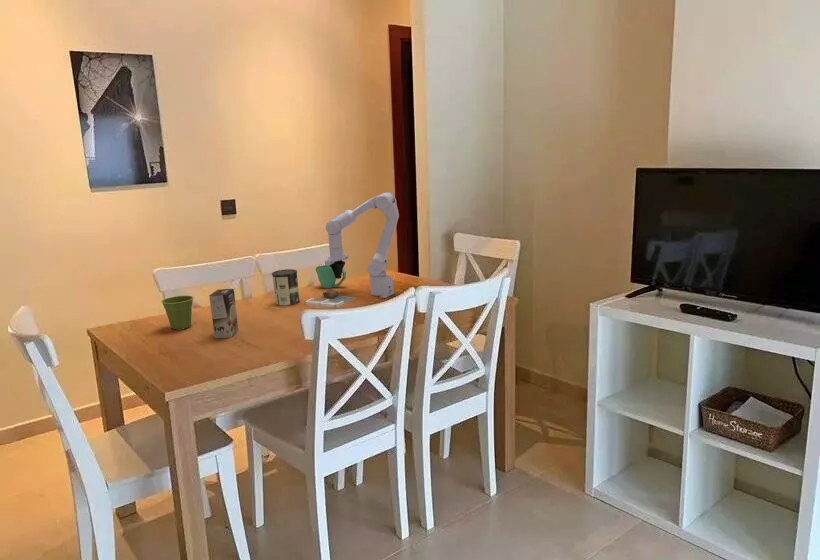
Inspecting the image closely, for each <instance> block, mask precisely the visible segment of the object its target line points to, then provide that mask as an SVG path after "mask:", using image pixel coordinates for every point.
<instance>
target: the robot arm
mask: <svg viewBox="0 0 820 560" xmlns="http://www.w3.org/2000/svg"><path fill="white" fill-rule="evenodd" d="M397 204H398V203H397V199H396V197H395V196H394V195H393V194H392V193H391V192H389V191H386V192H383V193H381V194H378V195H376V196H374V197H372V198H369V199H368V200H366V201H364V203H362V204H360V205H359V206H358V207H356V208H354V209H352V210H350V209H347V210H346V209H344V210H343V211H342V213H340V214H339V215H337V216H334V217H333V219H331V220H329V221H328V222H326V224H325V230H326V233H327V234H328V235H327V237H328V239H327V240H328V249H329V257H327V259H326V260H324V265H328V266H329V265H330V267H331V268H332V270H333V272H334V275H335V278H336V280H337V279H342V277H343V273H342V270H343V269H344V267H345V264H346V261H345V260H349V254H347V253H344V249H343V236H342V230H343V229H346V228H347V227H349V226H350V225H352V224H353V223H355V222H356V220H357V217H358V216H360V215H362V214H364V213H366V212H367V211H369V210H371V209H374V210H375V209H378V210H380V211H381V213H382V214H383V215H384V217H385V222H384V225H383V228H382V231H381V234H380V237H379V241H378V243H377V244H378V245H377V247H376V251H375V253H374V255H373V258H372V260H371V262H370V263H369V264H368V265H367V272H368V273H369V283H370V295H371V296H378V297H379V298H383V299H384V298H385V299H386V298H388V297H390V296H392V295H394V294H395V292H394V278H393V277H392V276H390V275H388V274H387V271H386V269H387V268H388V267H387V266H388V263H387V260H388V253H389V250H390V246H391V244H392V240H393V238H394V233H395V230H396V227H397V225H398V222H399V221H398V220H399V217H400V214H399V209H398V205H397Z"/></svg>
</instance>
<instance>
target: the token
mask: <svg viewBox="0 0 820 560" xmlns="http://www.w3.org/2000/svg"><path fill="white" fill-rule="evenodd" d="M338 296H339V290H338V289H337V290H335V289H328V290H326V291H323V292H322V297H323V298H328V299H333V298H335V297H338Z"/></svg>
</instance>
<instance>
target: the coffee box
mask: <svg viewBox="0 0 820 560" xmlns="http://www.w3.org/2000/svg"><path fill="white" fill-rule="evenodd" d="M208 296H209V302H210V303H209V304H210V311H211V318H212V319H211V320H212V326H213V334H214V335H213V336H214V339H230V338H233V336H235V335H236V333H237V332H238V331H239V321H238V312H237V306H236V305H237V304H236V297H235V289H234V288H225V289H223V288H222V289H216V290H215V291H214V292H212V293H211V294H209V295H208Z"/></svg>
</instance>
